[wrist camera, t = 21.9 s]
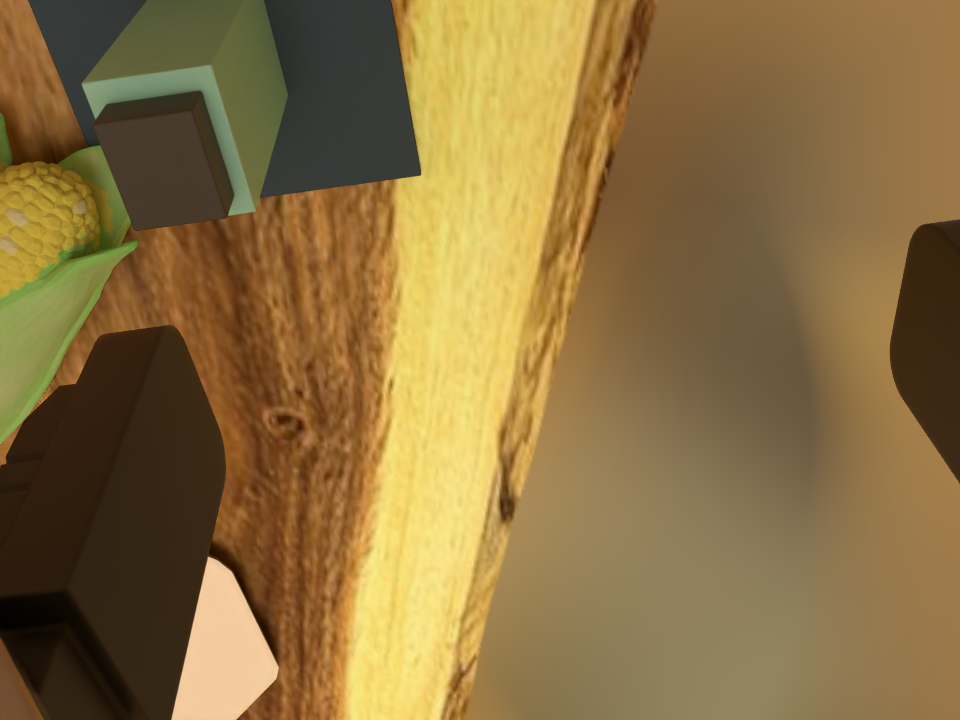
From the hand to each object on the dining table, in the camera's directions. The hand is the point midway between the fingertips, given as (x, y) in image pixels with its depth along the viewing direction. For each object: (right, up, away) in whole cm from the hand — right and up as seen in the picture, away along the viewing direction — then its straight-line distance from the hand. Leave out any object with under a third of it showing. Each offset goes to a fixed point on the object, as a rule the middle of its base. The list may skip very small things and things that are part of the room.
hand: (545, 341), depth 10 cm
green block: (-11, +9, +22) cm, 26 cm away
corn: (-23, +4, +33) cm, 40 cm away
